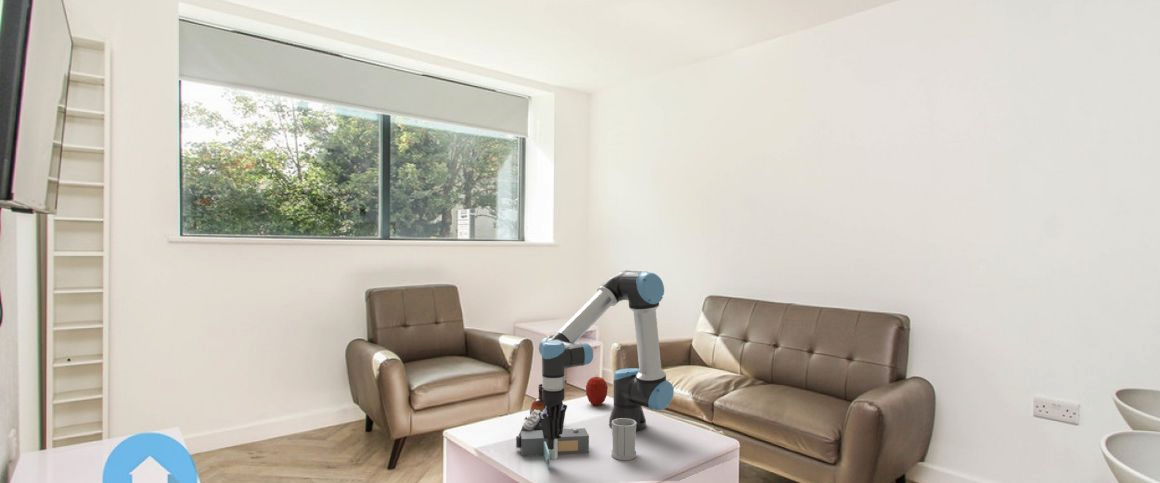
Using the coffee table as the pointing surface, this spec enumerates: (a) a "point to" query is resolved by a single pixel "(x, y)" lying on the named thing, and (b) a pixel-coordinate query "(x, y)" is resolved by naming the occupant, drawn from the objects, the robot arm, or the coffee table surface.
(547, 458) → the side door
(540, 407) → the vase
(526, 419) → the camera
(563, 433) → the long gray box
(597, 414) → the coffee table surface
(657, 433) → the coffee table surface
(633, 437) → the cup
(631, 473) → the coffee table surface
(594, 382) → the apple
